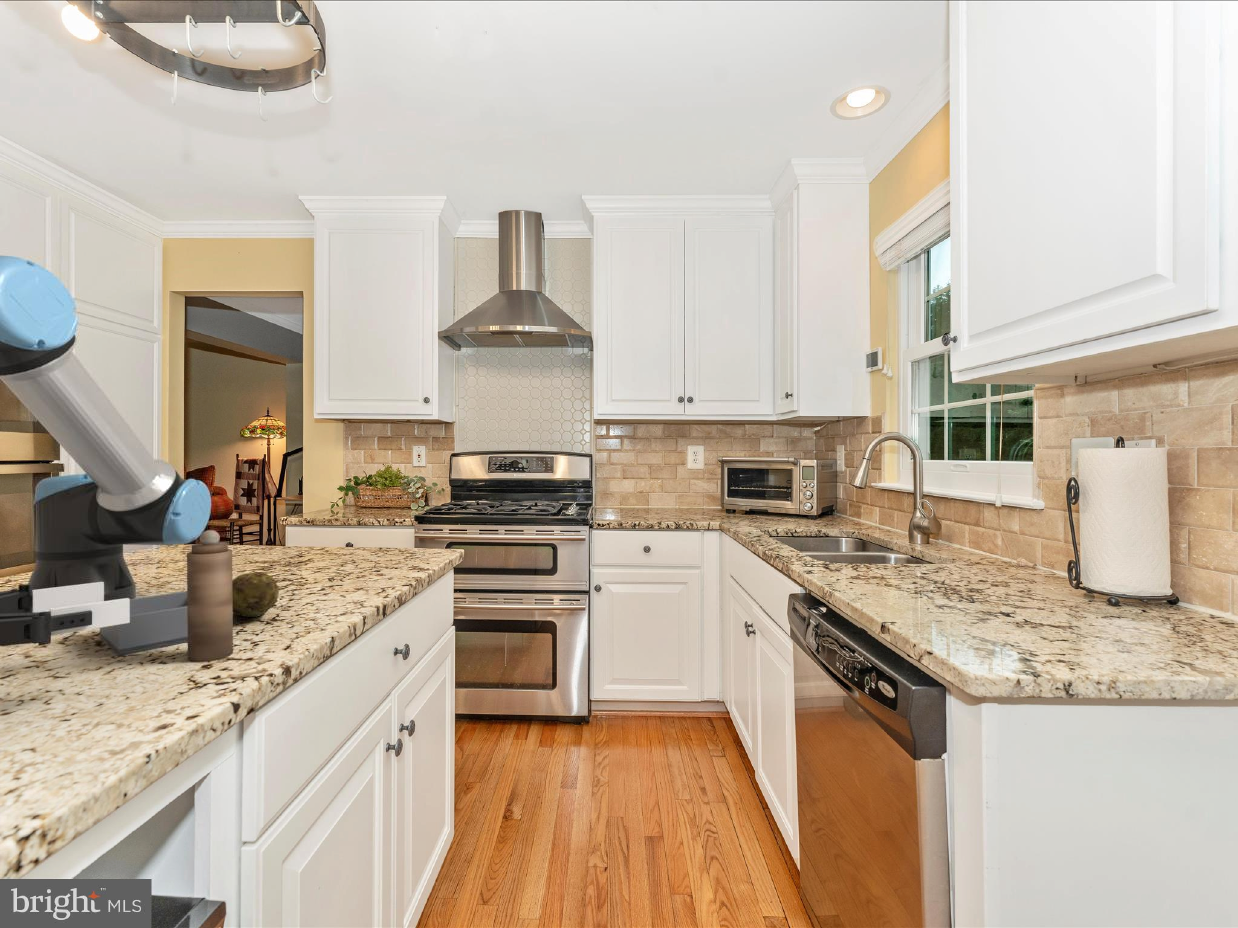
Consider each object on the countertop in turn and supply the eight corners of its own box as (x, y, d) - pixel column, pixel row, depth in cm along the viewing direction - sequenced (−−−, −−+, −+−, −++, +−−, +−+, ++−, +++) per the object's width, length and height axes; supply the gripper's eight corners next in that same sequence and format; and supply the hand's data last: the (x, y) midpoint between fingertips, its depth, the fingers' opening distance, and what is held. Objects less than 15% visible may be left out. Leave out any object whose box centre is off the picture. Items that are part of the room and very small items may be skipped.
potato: (276, 606, 106) (276, 561, 105) (279, 624, 95) (279, 574, 94) (220, 612, 101) (220, 565, 101) (216, 632, 90) (216, 579, 90)
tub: (99, 637, 87) (99, 603, 87) (196, 620, 97) (196, 589, 96) (118, 655, 80) (118, 618, 80) (222, 634, 89) (221, 601, 89)
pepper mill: (182, 656, 80) (181, 530, 79) (225, 646, 84) (224, 526, 83) (194, 664, 77) (193, 533, 76) (238, 654, 80) (237, 529, 80)
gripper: (-167, 653, 64) (94, 614, 80) (-190, 719, 48) (141, 653, 64) (-167, 583, 64) (94, 558, 80) (-191, 626, 48) (141, 584, 64)
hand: (115, 600), depth 72 cm, fingers open, 13 cm apart
